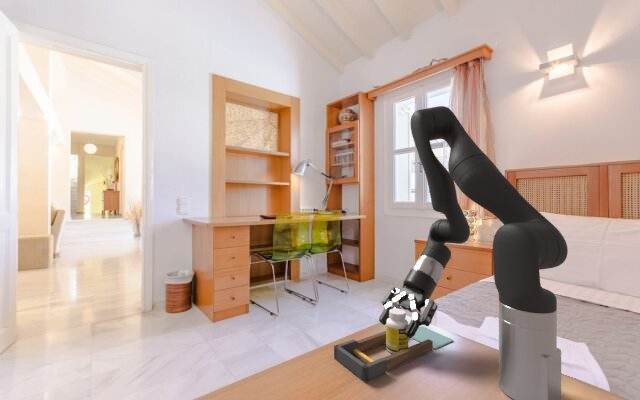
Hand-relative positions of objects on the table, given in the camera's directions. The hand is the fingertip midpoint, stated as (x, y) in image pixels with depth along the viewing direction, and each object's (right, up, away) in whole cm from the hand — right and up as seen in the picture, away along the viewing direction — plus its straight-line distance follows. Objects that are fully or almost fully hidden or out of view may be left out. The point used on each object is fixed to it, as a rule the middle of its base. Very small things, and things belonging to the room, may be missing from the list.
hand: (393, 329), depth 73 cm
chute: (0, -5, 0) cm, 5 cm away
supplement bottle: (+1, -6, +1) cm, 6 cm away
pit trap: (-10, -6, -6) cm, 13 cm away
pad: (+11, -5, +7) cm, 14 cm away
